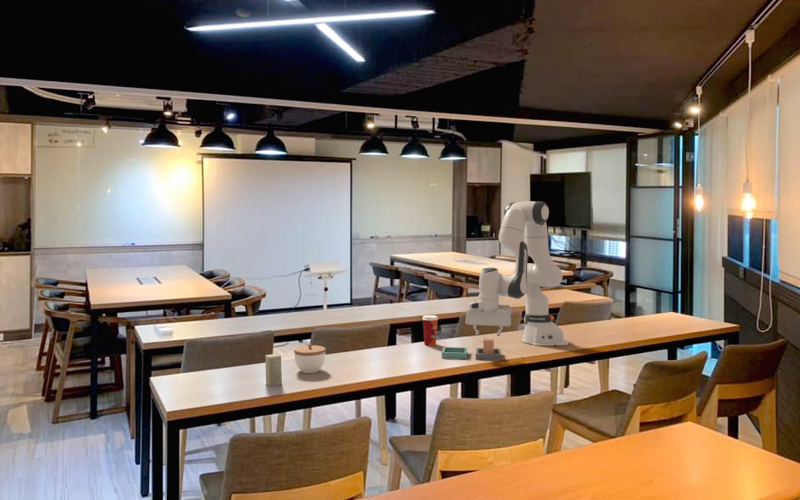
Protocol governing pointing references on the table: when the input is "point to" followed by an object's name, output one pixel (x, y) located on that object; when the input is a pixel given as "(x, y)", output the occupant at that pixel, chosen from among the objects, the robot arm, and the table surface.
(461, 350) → the bin
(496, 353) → the bin
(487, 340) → the block
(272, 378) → the box
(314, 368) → the lidded bowl
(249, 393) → the table surface
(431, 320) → the paper cup
